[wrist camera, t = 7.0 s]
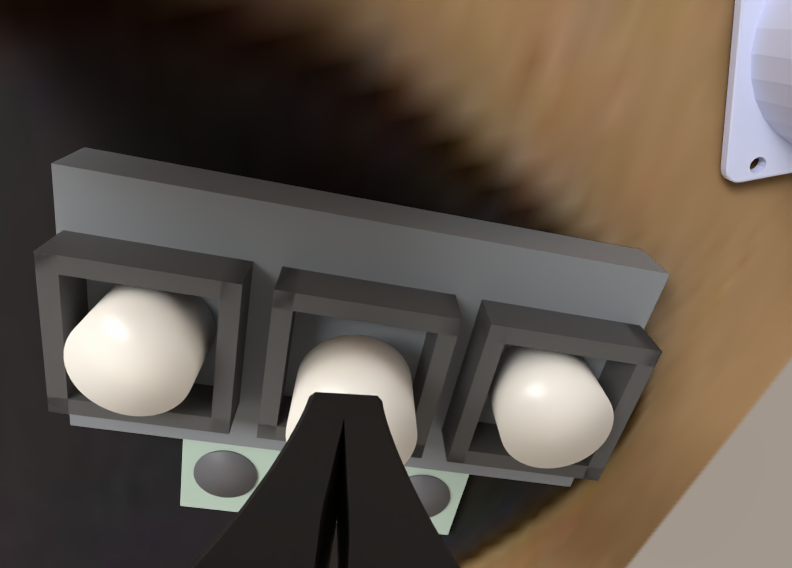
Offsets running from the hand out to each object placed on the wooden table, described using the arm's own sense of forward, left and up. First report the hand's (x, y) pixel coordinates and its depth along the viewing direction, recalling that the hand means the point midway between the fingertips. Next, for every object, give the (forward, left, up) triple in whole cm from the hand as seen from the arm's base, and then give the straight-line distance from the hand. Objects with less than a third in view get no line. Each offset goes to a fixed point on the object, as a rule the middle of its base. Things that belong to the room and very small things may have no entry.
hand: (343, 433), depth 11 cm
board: (+1, +3, -9) cm, 10 cm away
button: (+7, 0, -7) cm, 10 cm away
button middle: (+1, +3, -6) cm, 6 cm away
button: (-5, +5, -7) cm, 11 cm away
